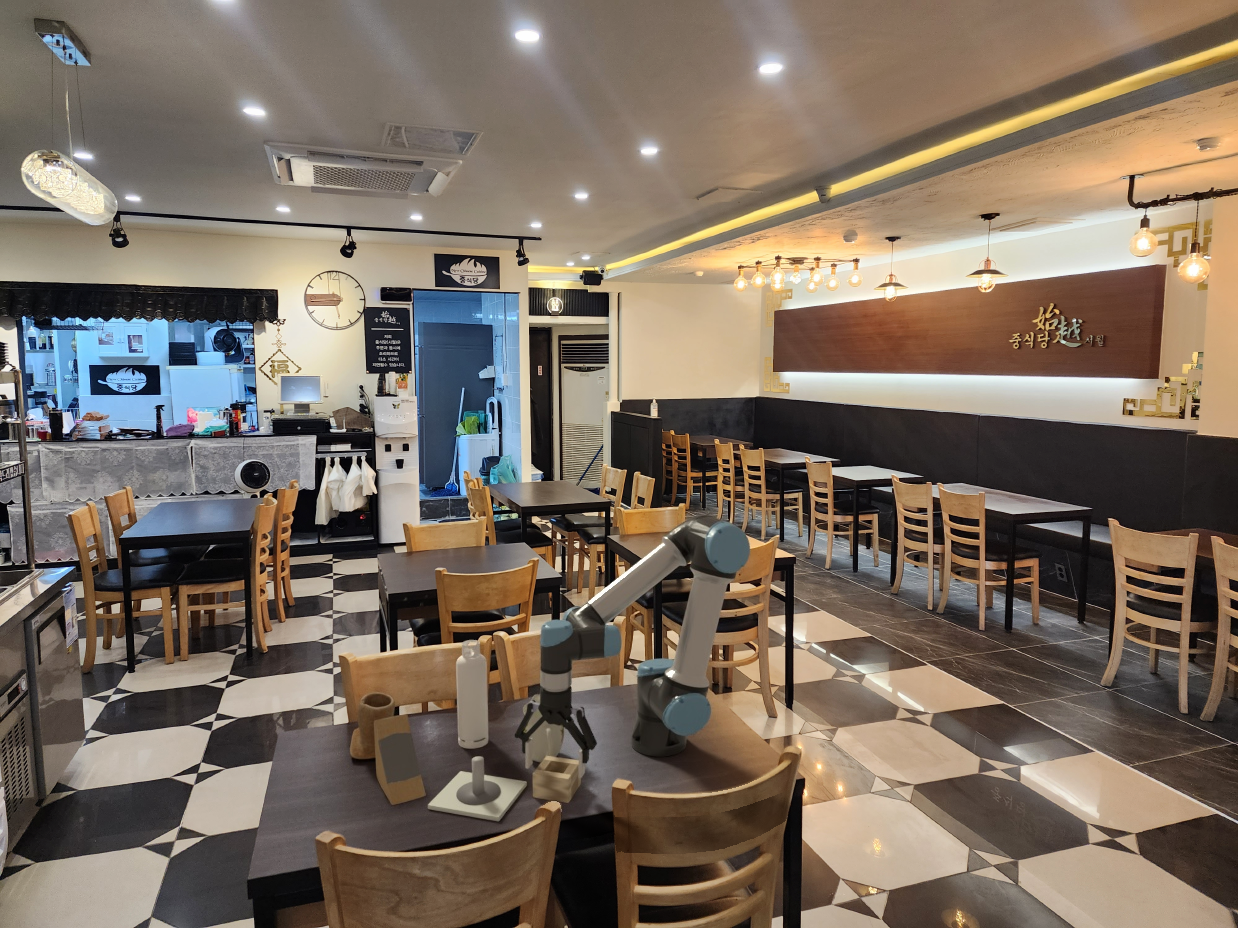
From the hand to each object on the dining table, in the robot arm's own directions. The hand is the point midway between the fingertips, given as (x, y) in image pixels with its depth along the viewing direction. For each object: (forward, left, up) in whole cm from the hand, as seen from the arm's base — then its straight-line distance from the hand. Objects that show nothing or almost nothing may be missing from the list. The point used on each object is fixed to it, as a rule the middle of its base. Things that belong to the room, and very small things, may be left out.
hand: (555, 770), depth 190 cm
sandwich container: (+37, +9, -6) cm, 39 cm away
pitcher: (+9, -14, -5) cm, 18 cm away
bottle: (+31, -17, -5) cm, 36 cm away
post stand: (+17, +8, -5) cm, 19 cm away
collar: (0, 0, -5) cm, 5 cm away
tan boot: (+55, -6, -6) cm, 55 cm away
